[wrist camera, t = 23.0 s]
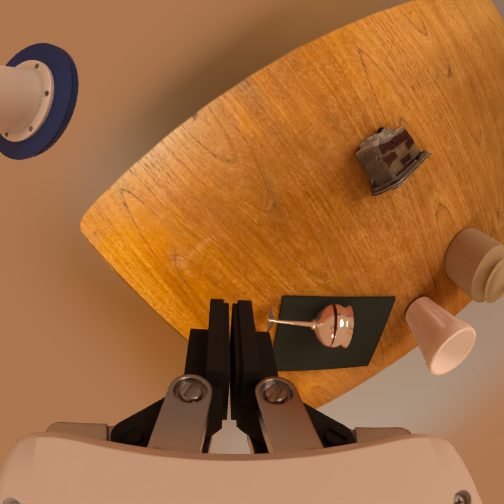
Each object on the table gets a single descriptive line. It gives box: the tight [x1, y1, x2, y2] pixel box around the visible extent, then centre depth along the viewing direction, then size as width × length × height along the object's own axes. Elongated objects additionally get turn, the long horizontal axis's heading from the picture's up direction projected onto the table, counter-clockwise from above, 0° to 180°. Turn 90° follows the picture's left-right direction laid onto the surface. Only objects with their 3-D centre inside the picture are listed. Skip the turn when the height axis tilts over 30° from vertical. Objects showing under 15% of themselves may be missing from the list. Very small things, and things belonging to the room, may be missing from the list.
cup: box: [405, 296, 476, 375], centre depth 41 cm, size 10×10×13 cm
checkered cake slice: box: [355, 127, 431, 197], centre depth 34 cm, size 10×7×12 cm
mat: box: [273, 296, 395, 371], centre depth 47 cm, size 20×16×1 cm
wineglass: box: [267, 304, 354, 348], centre depth 42 cm, size 7×7×12 cm
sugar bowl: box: [445, 228, 504, 303], centre depth 36 cm, size 15×11×15 cm
